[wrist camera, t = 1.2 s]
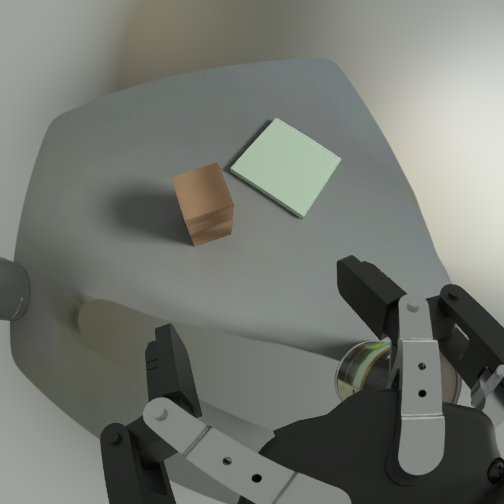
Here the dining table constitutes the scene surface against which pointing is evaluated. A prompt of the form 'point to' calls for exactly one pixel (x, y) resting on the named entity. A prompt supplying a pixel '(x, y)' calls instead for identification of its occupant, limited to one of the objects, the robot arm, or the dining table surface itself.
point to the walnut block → (205, 203)
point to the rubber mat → (286, 167)
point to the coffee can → (383, 371)
